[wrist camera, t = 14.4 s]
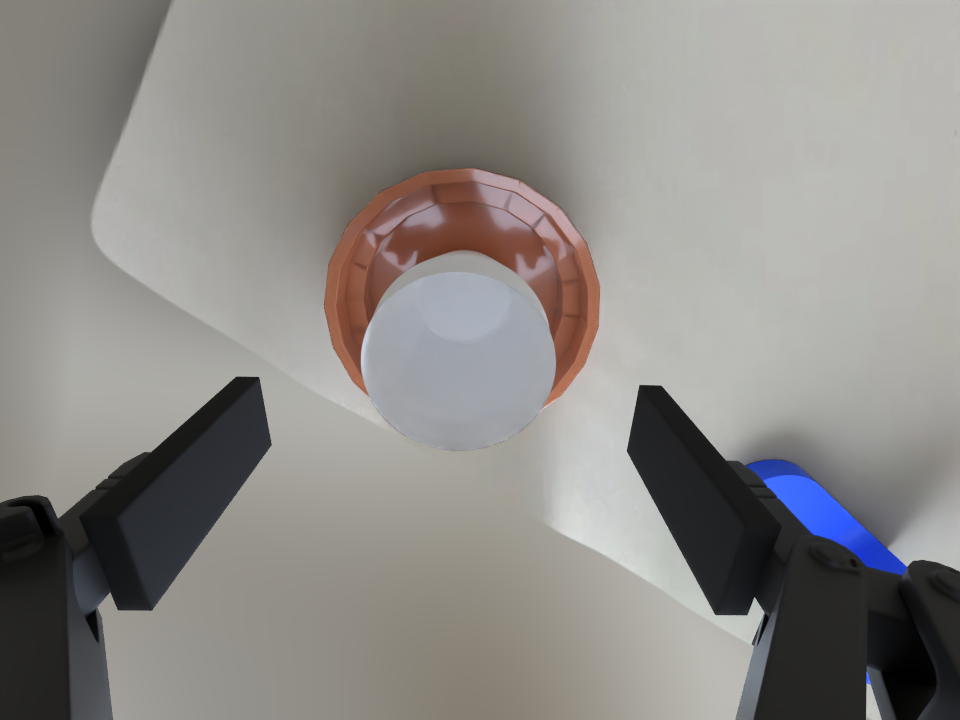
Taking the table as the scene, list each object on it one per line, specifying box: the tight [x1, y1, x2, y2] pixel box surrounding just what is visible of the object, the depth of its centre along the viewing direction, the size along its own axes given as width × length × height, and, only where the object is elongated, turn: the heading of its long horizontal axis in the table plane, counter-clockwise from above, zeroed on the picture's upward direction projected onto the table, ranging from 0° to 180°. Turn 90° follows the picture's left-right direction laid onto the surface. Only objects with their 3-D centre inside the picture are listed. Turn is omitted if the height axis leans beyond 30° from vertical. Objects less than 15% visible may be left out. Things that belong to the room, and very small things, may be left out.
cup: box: [361, 250, 556, 451], centre depth 25 cm, size 9×9×12 cm
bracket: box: [746, 460, 907, 684], centre depth 36 cm, size 18×8×9 cm, turn 49°
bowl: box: [324, 168, 600, 410], centre depth 29 cm, size 16×16×5 cm
